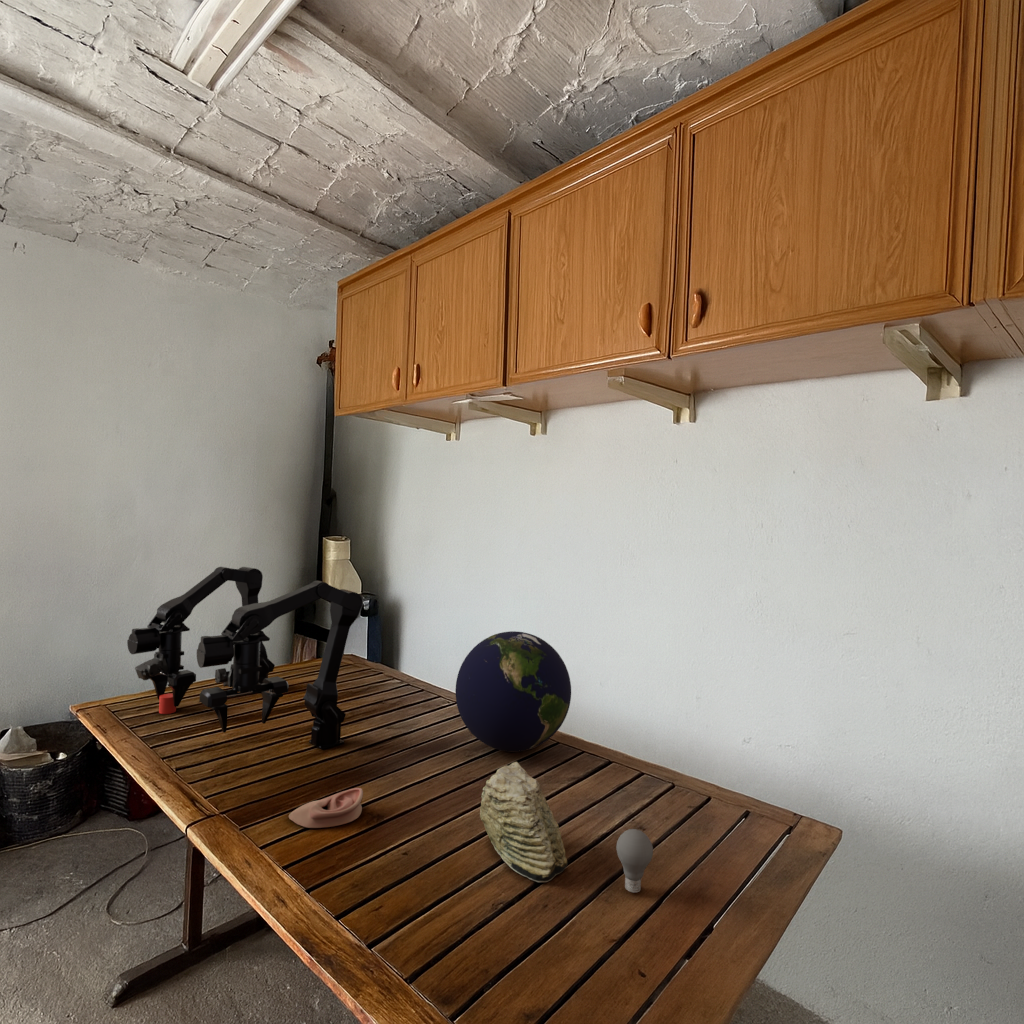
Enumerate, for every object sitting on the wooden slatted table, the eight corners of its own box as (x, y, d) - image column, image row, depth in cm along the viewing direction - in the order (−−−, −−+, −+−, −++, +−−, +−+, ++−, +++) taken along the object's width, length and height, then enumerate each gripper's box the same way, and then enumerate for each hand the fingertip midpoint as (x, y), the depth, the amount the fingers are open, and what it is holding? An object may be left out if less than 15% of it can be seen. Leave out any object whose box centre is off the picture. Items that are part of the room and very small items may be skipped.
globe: (499, 719, 185) (504, 617, 185) (589, 746, 168) (594, 633, 167) (428, 749, 161) (433, 631, 160) (525, 784, 144) (531, 652, 143)
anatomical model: (280, 803, 122) (311, 778, 133) (279, 823, 122) (310, 796, 133) (344, 813, 119) (370, 786, 130) (343, 834, 119) (369, 805, 130)
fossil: (501, 827, 124) (504, 751, 124) (575, 868, 111) (578, 784, 111) (467, 843, 118) (470, 763, 118) (541, 889, 105) (545, 799, 105)
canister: (157, 710, 180) (157, 695, 180) (173, 708, 183) (174, 692, 183) (161, 715, 177) (161, 699, 177) (177, 712, 180) (178, 696, 180)
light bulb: (610, 879, 108) (613, 822, 108) (644, 879, 109) (647, 822, 109) (619, 902, 102) (622, 840, 102) (655, 901, 103) (658, 840, 103)
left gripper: (124, 647, 179) (122, 702, 179) (156, 659, 168) (154, 717, 168) (164, 641, 188) (163, 693, 188) (198, 652, 177) (196, 707, 177)
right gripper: (270, 648, 160) (267, 710, 160) (191, 660, 147) (189, 726, 147) (290, 658, 152) (288, 722, 153) (210, 670, 139) (207, 741, 139)
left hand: (168, 702), depth 180 cm, fingers open, 9 cm apart
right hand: (244, 727), depth 148 cm, fingers open, 9 cm apart
